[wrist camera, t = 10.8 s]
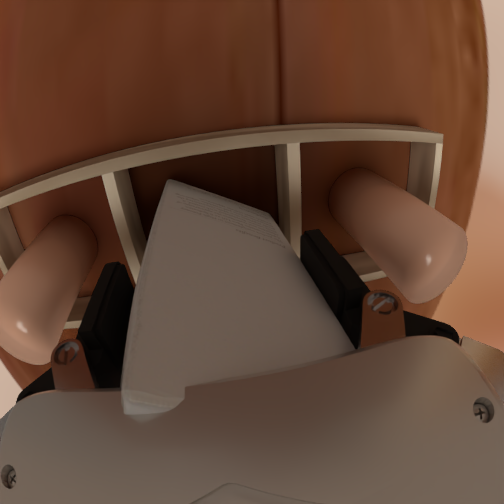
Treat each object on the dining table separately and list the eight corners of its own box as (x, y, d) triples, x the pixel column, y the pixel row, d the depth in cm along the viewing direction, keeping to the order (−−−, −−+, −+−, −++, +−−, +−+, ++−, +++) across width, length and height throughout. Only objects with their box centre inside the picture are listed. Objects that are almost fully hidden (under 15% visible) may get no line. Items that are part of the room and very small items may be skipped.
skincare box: (146, 245, 15) (104, 466, 5) (169, 170, 13) (101, 395, 3) (245, 273, 17) (299, 473, 7) (277, 208, 16) (395, 409, 5)
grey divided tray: (402, 250, 20) (466, 316, 13) (47, 308, 17) (12, 391, 10) (417, 126, 15) (514, 162, 8) (-3, 193, 12) (-78, 257, 5)
